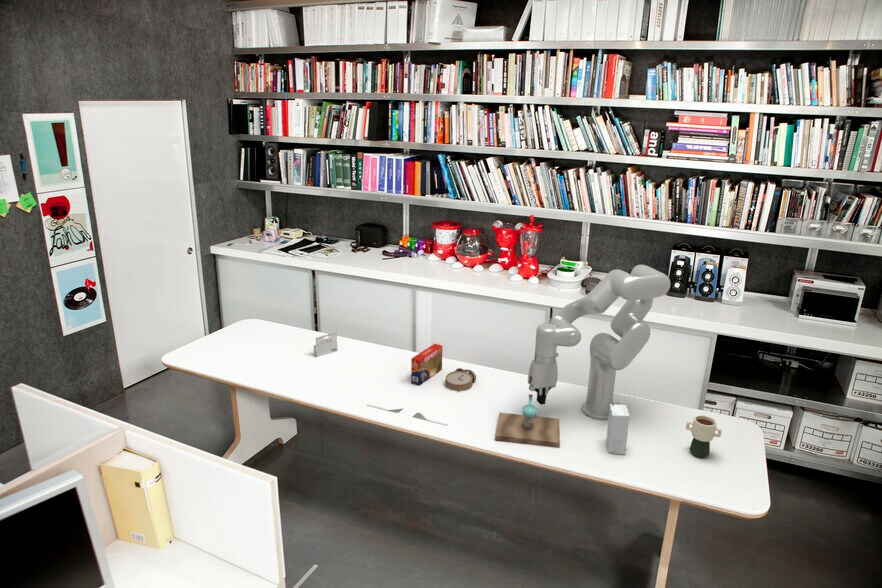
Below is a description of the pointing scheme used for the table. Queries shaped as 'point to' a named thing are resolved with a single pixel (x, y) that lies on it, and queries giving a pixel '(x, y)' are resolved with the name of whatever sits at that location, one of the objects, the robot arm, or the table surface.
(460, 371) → the alarm clock
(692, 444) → the character mug
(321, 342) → the ink cartridge box
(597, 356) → the robot arm
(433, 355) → the toy box
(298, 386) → the table surface
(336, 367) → the table surface
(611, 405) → the skincare box
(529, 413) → the teal lever handle
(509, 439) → the post block
